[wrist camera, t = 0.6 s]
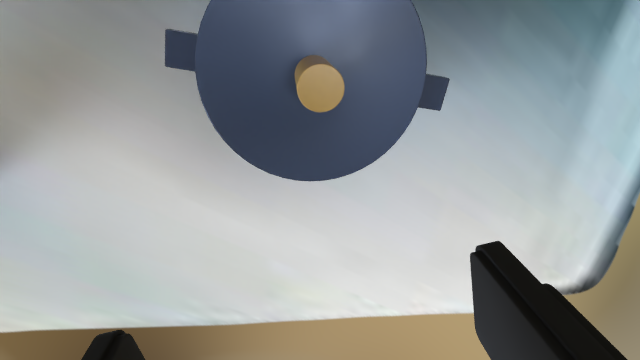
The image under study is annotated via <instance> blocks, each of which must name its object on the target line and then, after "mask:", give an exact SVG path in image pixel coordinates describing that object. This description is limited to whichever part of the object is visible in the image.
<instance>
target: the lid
mask: <svg viewBox="0 0 640 360" xmlns="http://www.w3.org/2000/svg"><path fill="white" fill-rule="evenodd" d="M426 66H427V57H426V44H425V38H424V32H423V29H422V25H421V22H420V19H419V16H418V14H417V12H416V9H415V7H414V5H413V3H412V1H411V0H211V1H210V3H209V5H208V6H207V9H206V11H205V14H204V16H203V19H202V21H201V24H200V28H199V32H198V36H197V42H196V51H195V72H196V79H197V86H198V90H199V94H200V97H201V101H202V104H203V106H204V108H205V111H206V113H207V115H208V117H209V119H210V121H211V123H212V124H213V126H214V128H215V129H216V131H217V132H218V133H219V135H220V136H221V137H222V139H223V140H224V141H225V142H226V143H227V144H228V145H229V146H230V147H231V148H232V149H233V150H234V151H235V152H236V153H237V154H238V155H239V156H241V157H242V158H243V159H244V160H246V161H247V162H249V163H251V164H252V165H254V166H255V167H257V168H259V169H261V170H263V171H266V172H268V173H270V174H273V175H276V176H279V177H282V178H287V179H292V180H299V181H323V180H329V179H335V178H339V177H342V176H345V175H349V174H351V173H354V172H356V171H358V170H360V169H363V168H364V167H366V166H368V165H369V164H371V163H373V162H374V161H376V160H377V159H378V158H379V157H381V156H382V155H383V154H385V153H386V152H387V151H388V150H389V149H390V148H391V147H392V146H393V145H394V144H395V143H396V142H397V140H398V139H399V138H400V137H401V135H402V134H403V133H404V131H405V130H406V128H407V127H408V125H409V124H410V122H411V120H412V118H413V116H414V114H415V112H416V110H417V108H418V105H419V102H420V99H421V96H422V93H423V88H424V83H425V78H426Z"/></svg>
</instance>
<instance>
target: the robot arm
mask: <svg viewBox="0 0 640 360" xmlns="http://www.w3.org/2000/svg"><path fill="white" fill-rule="evenodd" d="M470 262H471V277H472V291H473V306H474V319H475V329H476V333H477V335H478V338H479V340H480V342H481V344H482V345H483V347H484V349H485V350H486V352H487V353H488V355H489V357H490V358H491V360H627V359H626V358H625V357H624V356H623V355H622V354H621V353H620V352H619V351H618V350H617V349H616V348H615V347H614V346H613V345H612V344H611V343H610V342H609V341H608V340H607V339H606V338H605V337H604V336H603V335H602V334H601V333H600V332H599V331H598V330H597V329H596V328H595V327H594V326H593V325H592V324H591V323H590V322H589V321H588V320H587V319H586V318H585V317H584V316H583V315H582V314H581V313H580V312H579V311H578V310H577V309H576V308H575V307H574V306H573V305H572V304H571V303H570V302H568V300H567V299H566V298H565V297H564V296H563V295H562V294H561V293H560V292H559V291H558V290H557V289H555V288H554V287H553V286H552V285H549V284H547V283H546V284H541V283H540V282H539V281H538V280H537V279H536V278H535V277H534V276H533V275H532V273H531V272H530V271H529V270H528V269H527V268H526V267H525V266H524V265H523V264H522V263H521V262H520V261H519V260H518V259H517V258H516V257H515V256H514V255H513V254H512V253H511V252H510V251H509V250H508V249H507V248H506V247H505V246H504V245H503V244H502V243H501V242H500V241H495V242H491V243H487V244H483V245H478V246H477V247H476V252H473V253H471V254H470ZM82 360H145V358H144V356H143V355H142V353H141V351H140V349H139V348H138V346H137V344H136V342H135V341H134V339H133V337H132V336H131V335H130V334H126V333H125V332H124V331H122V330H116V331H112V332H108V333H103V334H99V335H97V336H96V337H95V338H94V340H93V341H92V343H91V345H90V346H89V348H88V350H87V351H86V353H85V355H84V356H83V358H82Z"/></svg>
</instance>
